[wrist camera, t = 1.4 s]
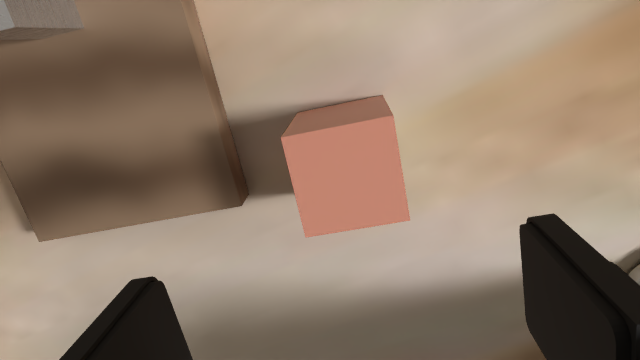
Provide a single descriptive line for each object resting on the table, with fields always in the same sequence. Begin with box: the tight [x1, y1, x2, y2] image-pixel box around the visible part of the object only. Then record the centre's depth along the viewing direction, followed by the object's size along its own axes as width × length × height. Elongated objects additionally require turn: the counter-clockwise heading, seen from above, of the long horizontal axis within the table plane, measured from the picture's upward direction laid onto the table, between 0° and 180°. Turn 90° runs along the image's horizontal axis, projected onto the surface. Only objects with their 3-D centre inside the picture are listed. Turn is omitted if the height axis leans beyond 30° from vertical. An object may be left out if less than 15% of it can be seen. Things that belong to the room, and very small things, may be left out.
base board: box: [0, 0, 249, 242], centre depth 25 cm, size 18×14×2 cm
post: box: [0, 0, 84, 40], centre depth 20 cm, size 3×3×5 cm
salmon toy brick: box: [281, 95, 410, 237], centre depth 23 cm, size 5×5×7 cm
